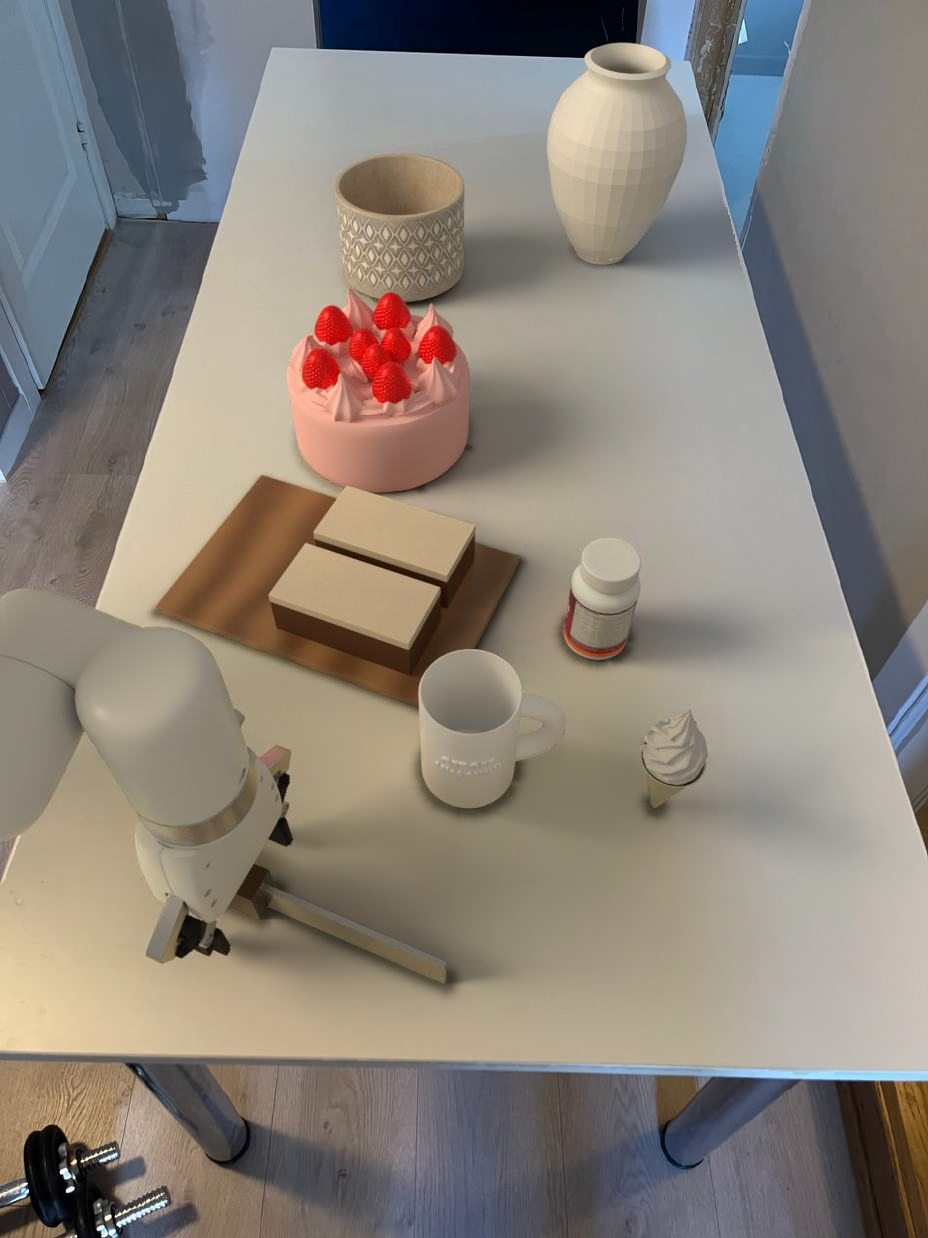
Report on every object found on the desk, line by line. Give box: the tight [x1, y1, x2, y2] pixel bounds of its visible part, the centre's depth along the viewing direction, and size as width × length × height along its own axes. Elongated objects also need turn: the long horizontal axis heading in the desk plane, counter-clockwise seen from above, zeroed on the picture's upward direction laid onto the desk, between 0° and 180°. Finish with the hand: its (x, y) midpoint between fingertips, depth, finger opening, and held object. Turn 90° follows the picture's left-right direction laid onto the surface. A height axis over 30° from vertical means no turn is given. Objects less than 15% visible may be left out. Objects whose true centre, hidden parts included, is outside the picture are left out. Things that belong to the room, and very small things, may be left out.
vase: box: [546, 42, 688, 266], centre depth 119 cm, size 18×18×25 cm
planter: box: [334, 153, 465, 303], centre depth 120 cm, size 16×16×13 cm
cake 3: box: [269, 543, 441, 676], centre depth 84 cm, size 14×7×5 cm, turn 67°
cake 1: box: [286, 288, 471, 494], centre depth 99 cm, size 20×20×14 cm
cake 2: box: [313, 485, 477, 609], centre depth 89 cm, size 14×7×5 cm, turn 67°
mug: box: [418, 648, 567, 809], centre depth 74 cm, size 8×12×12 cm
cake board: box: [155, 474, 520, 709], centre depth 90 cm, size 30×20×1 cm, turn 67°
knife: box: [228, 863, 448, 985], centre depth 68 cm, size 24×3×4 cm, turn 67°
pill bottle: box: [563, 537, 642, 661], centre depth 83 cm, size 6×6×11 cm
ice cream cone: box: [639, 709, 709, 809], centre depth 70 cm, size 5×5×15 cm
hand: (244, 888), depth 70 cm, fingers open, 8 cm apart
